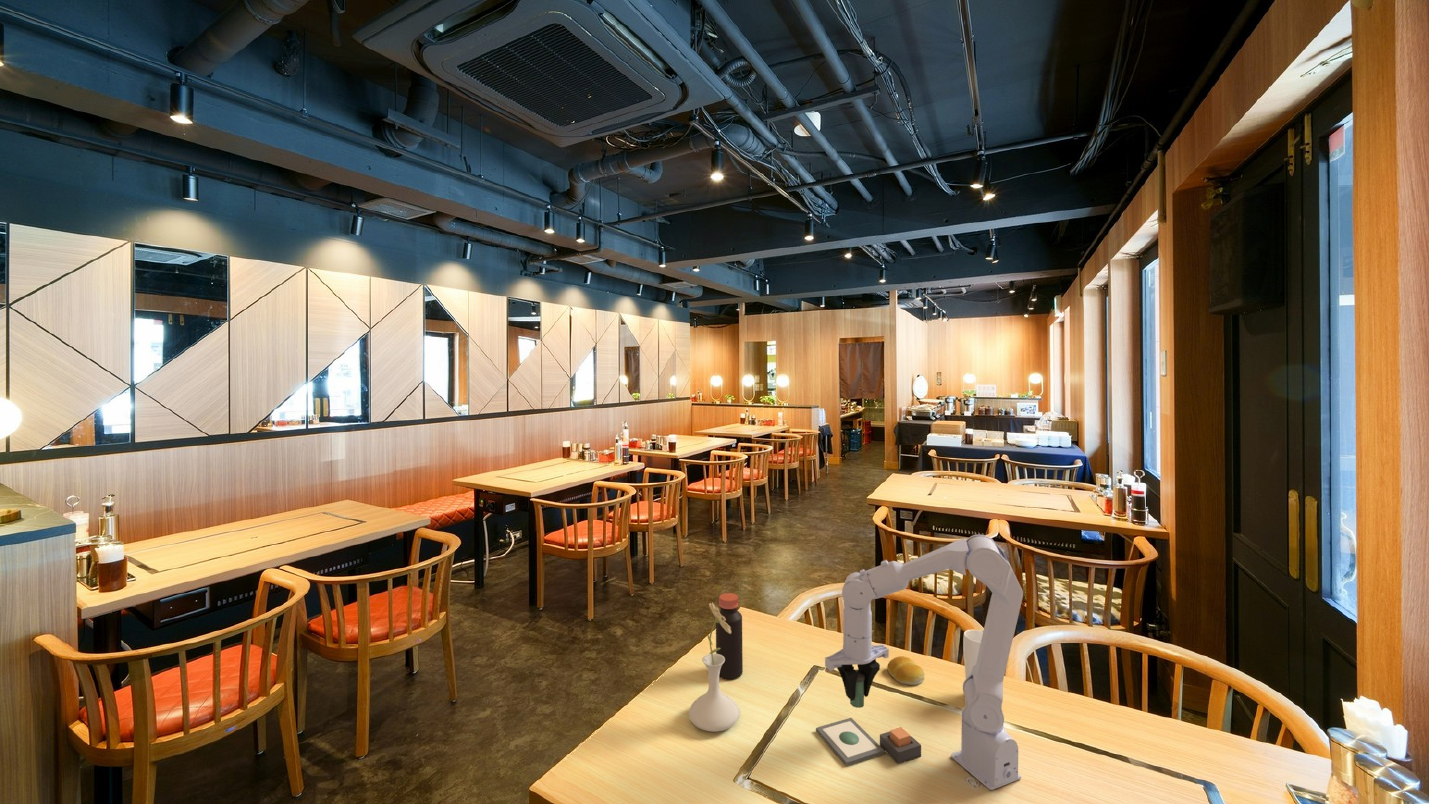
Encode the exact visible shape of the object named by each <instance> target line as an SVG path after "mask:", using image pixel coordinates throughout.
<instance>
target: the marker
mask: <svg viewBox="0 0 1429 804" xmlns="http://www.w3.org/2000/svg"><path fill="white" fill-rule="evenodd" d="M855 670H856V671H857V672H858V673H859V674H858V677H857V681H856V687H855V700H850V699H849V702H850V703H849V704H850V706H852V708H853V707H854V708H856V709H857V708H860V709H861V708H863V707H864V705H865V696H864V680H865V674H864V672H862V671H861V670H858V669H855Z"/></svg>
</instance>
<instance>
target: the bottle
mask: <svg viewBox="0 0 1429 804" xmlns="http://www.w3.org/2000/svg"><path fill="white" fill-rule="evenodd" d="M718 601H719V602H718V603H719V604H718V605H719V613H720V614H721V616H724V617H725V619H726V621H725V622H726V623H727V624H728V625H729V626H730V628H731V629H730V630H731V634H729V633H728V632H727V631H726V630H725V629H724V628H723V627H722V626H721V624H720V623H717V622H716V624H715V649H717V648H720V649H719V650H717V651H716V652H715V654H720V655H722V656H723V657H724V658H725V662H724V663H723V664H722V666H721V669H720V673H719V679H720V678H721V679H722V680H725V679H726V680H725V681H733V679H734V680H737V679H739V678H740V677H741V676H742V675H743V670H744V669H743V668H744V667H743V662H744V660H743V657H744V656H743V615H742V614H741V612H740V611H739V610H738V609H739V596H738V595H737V594H736V593H733V592H732V593H731V592H725V593H722V594H720V595H719V597H718Z"/></svg>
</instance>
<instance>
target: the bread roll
mask: <svg viewBox="0 0 1429 804" xmlns="http://www.w3.org/2000/svg"><path fill="white" fill-rule="evenodd" d="M886 668H887V671H888V673H889V674H890V676H891V677H893V678H894V679H895V681H896V682H898V683H900V684H902V685H907V686H917V685H918V686H919V685H920V684H922V683H923V682H924V680H925V671H924V669H923V668H922V666H920V665H918V664H917V663H916V662H915V661H914V660H912V659H911V658H910V657H907V656H903V655H901V656H900V655H899V656H896V657H894V658H893V659H890V661H888V664H887V666H886Z"/></svg>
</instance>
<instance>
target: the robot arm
mask: <svg viewBox="0 0 1429 804" xmlns="http://www.w3.org/2000/svg"><path fill="white" fill-rule="evenodd" d="M946 570H951V571H953V572H955V573H958V574H961V575H962V576H967V572H966V570H968V572H969V573H970V574H971V575H972V576H973V577H974V578H975V579H976V580H978V582H981V583H982V584H983V585H986V587H987V588H988V590H990V592H991V593H992V594H991V596H990V601H989V605H988V609H987V615H986V618H985V624H984V626H983V630H982V631H983V635H982V640H981V644H980V648H979V653H978V657H977V661H976V664H975V665H974V666H973V668H972V672H971V674H970V675H969V677H967V678H966V677H965V678H964V681H963V683H962V692H963V694H964V701H965V706H964V708H963V709H962V711H961V744H960V745H961V747H960V748H961V750H958V751H955V752H953V753H951V754H950V757H951V758H952V759H953V760H954V761H955V762H957V764H959V765H960V766H961V767H962V768H964V769H965V770H966V771H967V772H968V773H970V774H971V776H973V777H974V778H975V779H976V780H977V781H979V783H981V784H983V785H984V786H985V787H986V788H987V789H988V790H990V791H994V790H996V789H998V788H1001V787H1003V786H1006V785H1008V784H1011V783H1013V782H1016V781H1019V780H1021V779H1022V775H1021V774H1020V773H1019V745H1018V743H1017V741H1016V740H1015V739H1014V738H1013V737H1012V736H1011V735H1010V734H1009V733H1008V731H1007V730H1006V727H1005V725H1004V723H1005V716H1004V713H1003V707H1002V706H1003V705H1002V704H1003V701H1004V690H1003V689H1004V685H1003V684H1004V678H1005V673H1006V669H1007V665H1008V660H1009V659H1010V657H1009V656H1010V653H1011V648H1012V644H1013V640H1014V636H1015V631H1016V627H1017V623H1018V619H1019V615H1020V610H1021V607H1022V606H1021V605H1022V602H1023V598H1024V591H1023V589H1022V587H1021V584H1020V581H1018V578H1017V576H1016V574H1015V572H1014V570H1013V568H1012V566H1011V564H1010V562H1009V559H1008V557H1007V556H1006V554H1005V551H1004V550H1003V549H1002V547H1000V546H999V545H998V544H997V542H995V541H994V539H993V538H991V537H989V536H988V535H985V534H974V535H971V536H970V537H968V538H967V539H966V538H965V537H964V538H960V539H957V540H954V541H953V542H951V543H949V544H947V545H943V546H942V547H940V548H936V549H934V550H933V551H930V552H927V553H926V554H923V555H920V556H918V557H916V558H914V559H911V560H909V561H907V562H904V563H902V562H899V561H895V560H892V561H888V559H884V560H882V561H881V562H880V565H878V566H875V567H872V568H869V569H868V570H865V569H864V568H863V569H861V570H860V571H859V572H858V571H855V572H851V573H850V574H848V575H847V577H846V578H845V581H844V584H843V586H842V590H841V596H842V599H843V606H844V608H843V611H842V612H843V615H842V616H843V617H842V618H843V623H842V626H843V629H842V630H843V632H842V633H843V637H842V638H843V641H842V643H843V644H842V649H840V650H838V651H836V652H835V653H834V654H832V655H830V656H825V657H824V666H825V668H826V669H827V670H828V671H830V672H833V671H835V669H837V671H838V673H839V675H840V677H841V680H842V683H843V687H844V690H845V695H846V697H847V698H848V699H849V701H850V700H855V687H856V681H857V677H858V674H859V673H858V672H857V671H856V670H861V671H862V672H864V674H865V680H864V698H868V697H869V694H870V690H871V687H872V684H873V681H874V679H875V677H876V675H877V674H878V673H879V671H880V670H881V669H880V668H881V667H880V666H881V665H880V663H879V662H878V661H877V659H879V658H884V659H888V658H890V657H889V656H890V655H889V652H890V651H889V650H890V649H889V648H888V647H887V646H885V645H884V644H876V645H872V642H873V641H872V640H873V638H872V636H873V634H872V633H873V632H872V631H873V630H872V628H873V624H872V623H873V620H872V619H873V618H872V617H873V613H872V610H871V609H872V608H871V607H872V606H871V605H872V601H873V600H877V599H881V598H883V597H886V596H889V595H893V594H895V593H897V592H901V591H903V590H905V589H907V588H908V586H909V583H910V581H912V580H913V581H914V580H916V579H919V578H922V577H926V576H930V575H933V574H936V573H939V572H943V571H946ZM853 665H857V669H855V667H854V666H853Z"/></svg>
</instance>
